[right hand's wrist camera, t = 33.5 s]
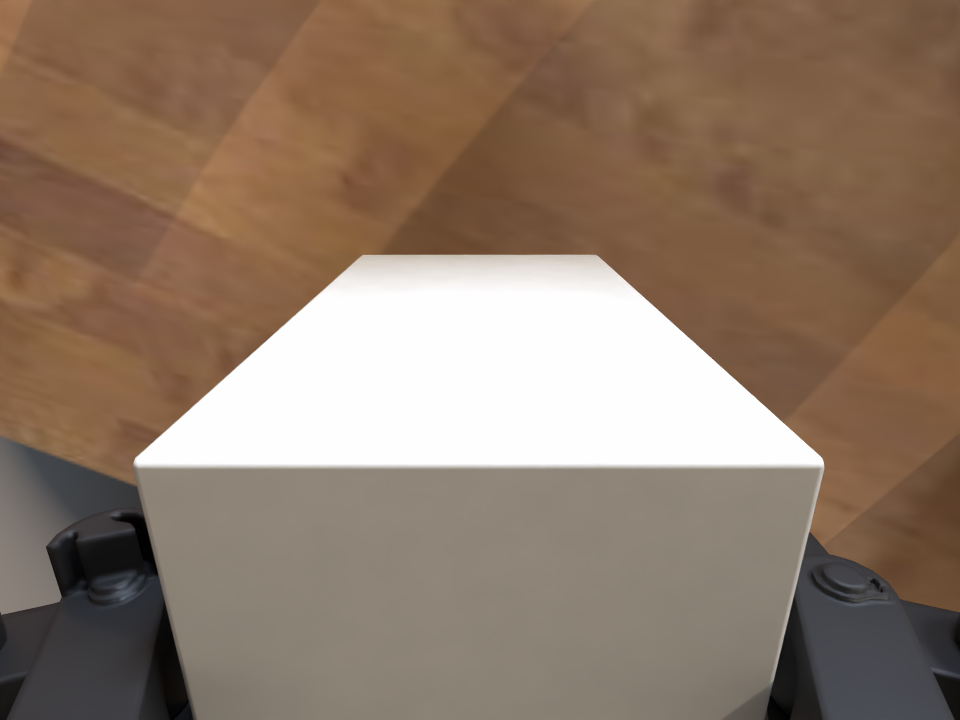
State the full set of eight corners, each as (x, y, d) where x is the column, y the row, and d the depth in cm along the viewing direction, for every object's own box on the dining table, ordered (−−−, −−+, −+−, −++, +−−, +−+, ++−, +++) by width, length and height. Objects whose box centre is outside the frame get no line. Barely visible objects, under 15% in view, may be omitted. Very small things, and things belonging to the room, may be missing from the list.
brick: (377, 479, 18) (239, 922, 8) (360, 254, 16) (125, 460, 5) (582, 479, 18) (719, 923, 8) (598, 254, 16) (830, 460, 5)
